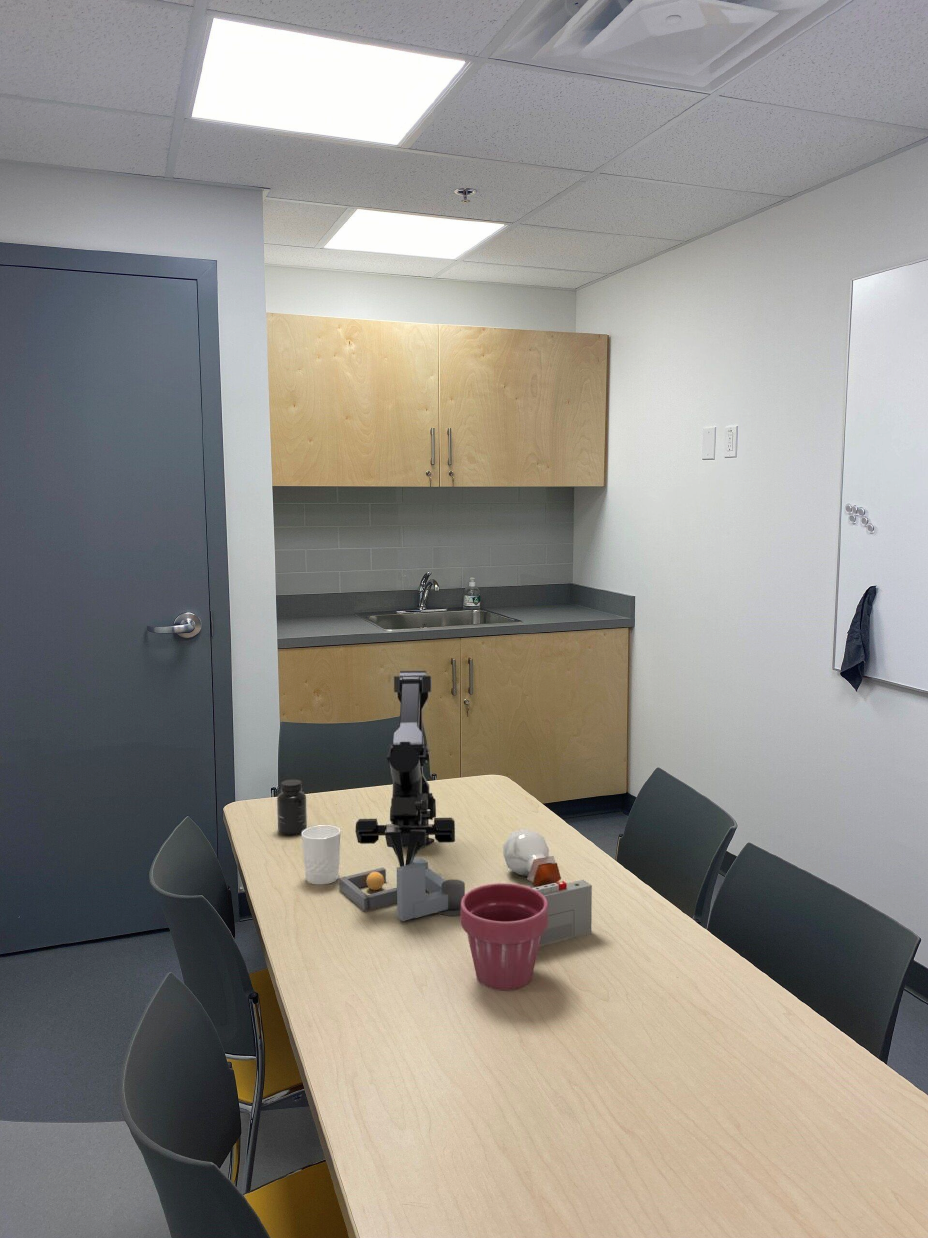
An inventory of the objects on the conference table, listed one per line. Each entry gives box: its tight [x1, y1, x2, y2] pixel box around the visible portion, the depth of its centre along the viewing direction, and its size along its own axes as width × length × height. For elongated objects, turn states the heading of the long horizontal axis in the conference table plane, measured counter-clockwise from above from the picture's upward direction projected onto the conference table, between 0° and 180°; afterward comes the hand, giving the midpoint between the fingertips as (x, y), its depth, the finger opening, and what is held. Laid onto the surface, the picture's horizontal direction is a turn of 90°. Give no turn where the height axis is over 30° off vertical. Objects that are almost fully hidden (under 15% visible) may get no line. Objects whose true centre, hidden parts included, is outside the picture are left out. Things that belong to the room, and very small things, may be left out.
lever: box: [396, 856, 466, 922], centre depth 172 cm, size 17×14×10 cm
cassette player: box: [532, 879, 593, 947], centre depth 156 cm, size 16×3×10 cm, turn 116°
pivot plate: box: [437, 908, 461, 917], centre depth 169 cm, size 7×7×1 cm
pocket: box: [338, 867, 397, 912], centre depth 175 cm, size 10×11×2 cm
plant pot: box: [460, 882, 548, 991], centre depth 144 cm, size 14×14×13 cm
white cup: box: [301, 824, 341, 886], centre depth 183 cm, size 8×8×10 cm
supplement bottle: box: [276, 779, 308, 837], centre depth 210 cm, size 7×7×12 cm
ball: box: [366, 872, 385, 891], centre depth 178 cm, size 4×4×4 cm
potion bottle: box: [502, 828, 562, 887], centre depth 182 cm, size 9×10×15 cm
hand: (404, 873), depth 165 cm, fingers closed
